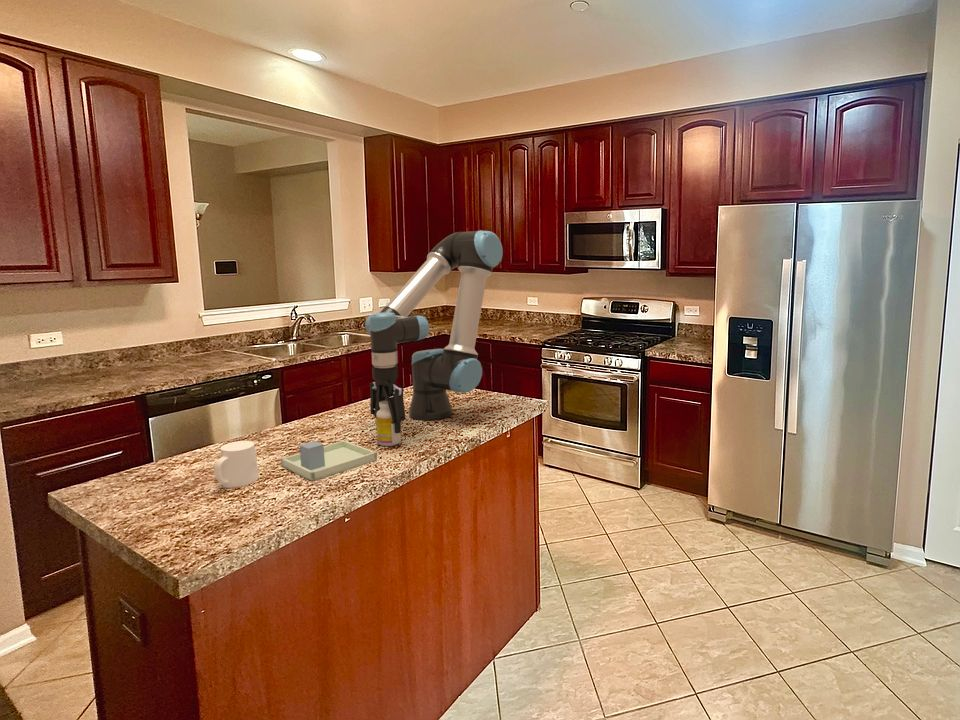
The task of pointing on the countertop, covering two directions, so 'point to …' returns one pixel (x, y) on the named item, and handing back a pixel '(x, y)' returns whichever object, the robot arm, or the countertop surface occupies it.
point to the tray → (332, 460)
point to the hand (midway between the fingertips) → (388, 440)
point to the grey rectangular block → (312, 455)
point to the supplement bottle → (384, 424)
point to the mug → (237, 464)
